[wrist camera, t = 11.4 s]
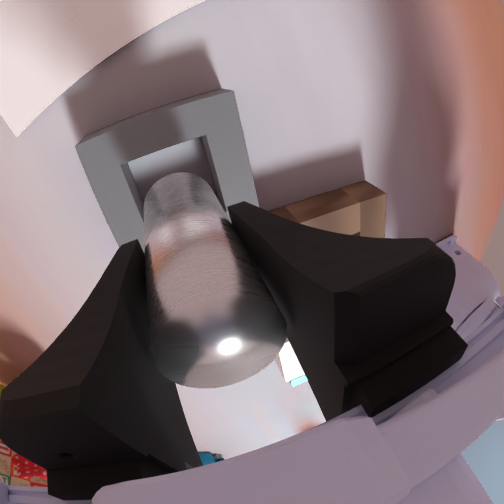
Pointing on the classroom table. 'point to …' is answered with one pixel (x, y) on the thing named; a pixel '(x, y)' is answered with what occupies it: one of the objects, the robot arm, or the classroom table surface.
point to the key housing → (288, 363)
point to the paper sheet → (64, 45)
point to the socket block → (342, 211)
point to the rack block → (159, 137)
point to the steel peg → (204, 290)
